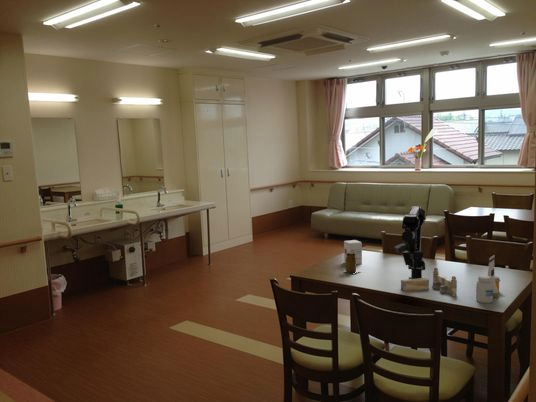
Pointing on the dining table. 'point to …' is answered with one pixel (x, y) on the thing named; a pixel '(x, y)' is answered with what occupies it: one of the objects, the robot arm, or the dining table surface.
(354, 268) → the condiment
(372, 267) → the dining table surface
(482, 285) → the toiletry set
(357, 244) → the supplement box
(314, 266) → the dining table surface
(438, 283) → the beige base with posts
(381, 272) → the dining table surface
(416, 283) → the beige rectangular block
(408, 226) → the robot arm
